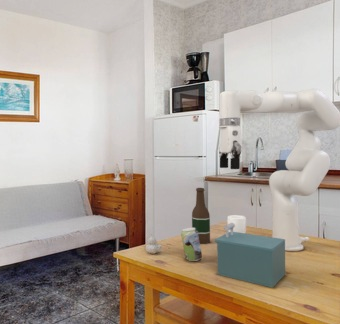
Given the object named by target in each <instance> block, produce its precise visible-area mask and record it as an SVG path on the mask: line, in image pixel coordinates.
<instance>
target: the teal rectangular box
mask: <svg viewBox="0 0 340 324" xmlns="http://www.w3.org/2000/svg"><path fill="white" fill-rule="evenodd" d="M216 251H217V252H216V254H217V257H216V258H217V275H218V276H223V277H226V278H230V279H235V280H239V281H242V282H247V283H250V284H251V283H252V284H254V285H255V284H256V285H259V286H264V287H268V288H272V289H273V288H274V287H275V286H276V285H277V284H278V283H279V282H280V281H281V280H282V279H283V278H284V277H285V276H286V250H285V242H284V243H283V244H281V245H280V246H279V247H277V248H276V249H275V250H274V251H266V250H260V249H254V248H249V247H243V246H237V245H231V244H225V243H220V242H216Z"/></svg>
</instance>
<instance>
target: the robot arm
mask: <svg viewBox="0 0 340 324" xmlns="http://www.w3.org/2000/svg"><path fill="white" fill-rule="evenodd" d="M271 113H272V114H273V113H274V114H276V113H281V114H282V113H288V114H290V113H291V114H293V113H295V114H296V113H300V114H299V115H298V116H297V117H296V120H295V126H296V129H297V133H298V140H297V142H296V144H295V145H294V147H293V148H292V150H291V151H290V153H289V154H288V156H287V157H286V160H285V168H286V169H280V170H276V171H274V172H273V173H271V174H270V176H269V178H268V185H269V189H270V193H271V194H270V195H271V224H272V225H271V234H272V235H271V237H273V238H280V239H285V252H286V251H288V252H298V251H299V252H300V251H302V250H304V248H305V247H304V245H303V244H302V243H306V242H310V237H309V236H301V235H300V204H299V201H298V199H297V196H299V197H309V196H311V195H313V194H314V193H315V192H316V191H317V189H318V188H319V186H320V184H321V183H322V181H323V180H324V178H325V177H326V175H327V173H328V172H329V170H330V167H331V158H330V155H329V154H328V152H326V151H325V150H322V149H321V147H322V140H321V139H320V136H319V134H318V132H320V131H321V132H322V131H332V130H336V129H338V128H339V127H340V110H339V109H338V108H337V106H336V105H335V104H334V103H333V101H332V100H331V99H330V98H329V97H328V96H327V95H326V93H324V92H323V91H321V90H320V89H318V88H311V89H306V90H300V91H285V90H284V91H283V90H274V91H266V92H261V93H260V92H259V91H257V90H243V91H239V90H225V91H222V92H220V94H219V97H218V128H219V142H218V145H219V146H218V151H219V152H218V153H219V168H220V169H228V168H229V167H230V169H231V170H240V167H241V166H240V165H241V162H240V160H241V154H242V152H243V151H242V150H243V143H242V141H243V139H242V130H241V114H271ZM229 154H230V157H231V158H230V163H229V157H228V156H229ZM229 164H230V165H229Z"/></svg>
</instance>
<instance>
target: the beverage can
mask: <svg viewBox="0 0 340 324" xmlns="http://www.w3.org/2000/svg"><path fill="white" fill-rule="evenodd" d="M180 235H181V240H182V245H183V252H184V257H185V259H186V260H187V261H189V262H197V261H200V260H201V259H202V258H203V254H202V253H203V252H202V247H201V244H200V242H199V236H198V232H197V230H196V229H195V228H192V227H185V228H183V229H181V233H180Z"/></svg>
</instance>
